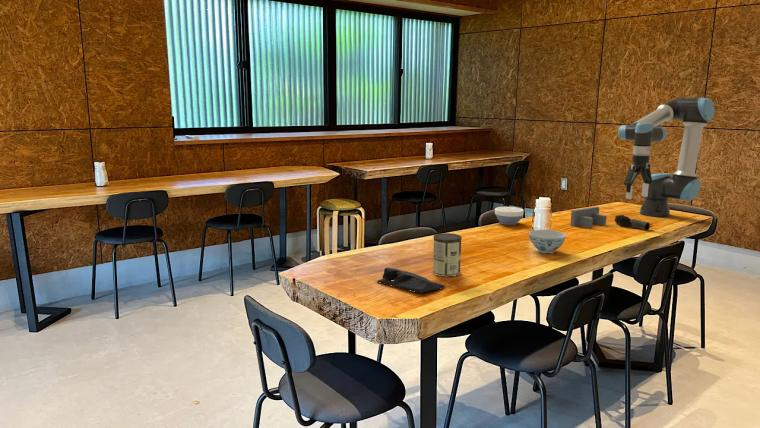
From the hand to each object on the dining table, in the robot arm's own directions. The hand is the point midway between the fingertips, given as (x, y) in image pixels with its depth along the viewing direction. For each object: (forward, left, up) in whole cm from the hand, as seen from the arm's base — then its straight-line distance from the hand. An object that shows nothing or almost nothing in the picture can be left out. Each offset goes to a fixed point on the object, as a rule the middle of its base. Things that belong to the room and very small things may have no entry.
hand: (636, 197), depth 273 cm
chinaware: (+71, +5, -16) cm, 73 cm away
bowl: (+45, -41, -16) cm, 63 cm away
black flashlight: (-2, -3, -16) cm, 17 cm away
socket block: (+12, -17, -16) cm, 26 cm away
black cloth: (+145, +8, -16) cm, 146 cm away
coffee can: (+126, +5, -16) cm, 127 cm away
